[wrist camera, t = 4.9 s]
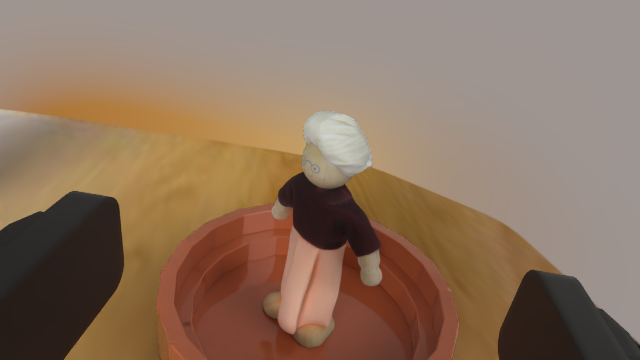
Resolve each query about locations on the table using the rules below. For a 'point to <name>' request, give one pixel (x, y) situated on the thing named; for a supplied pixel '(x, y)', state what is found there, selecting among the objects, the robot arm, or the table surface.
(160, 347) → the terracotta plant saucer
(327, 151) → the grandmother figurine
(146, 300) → the table surface
